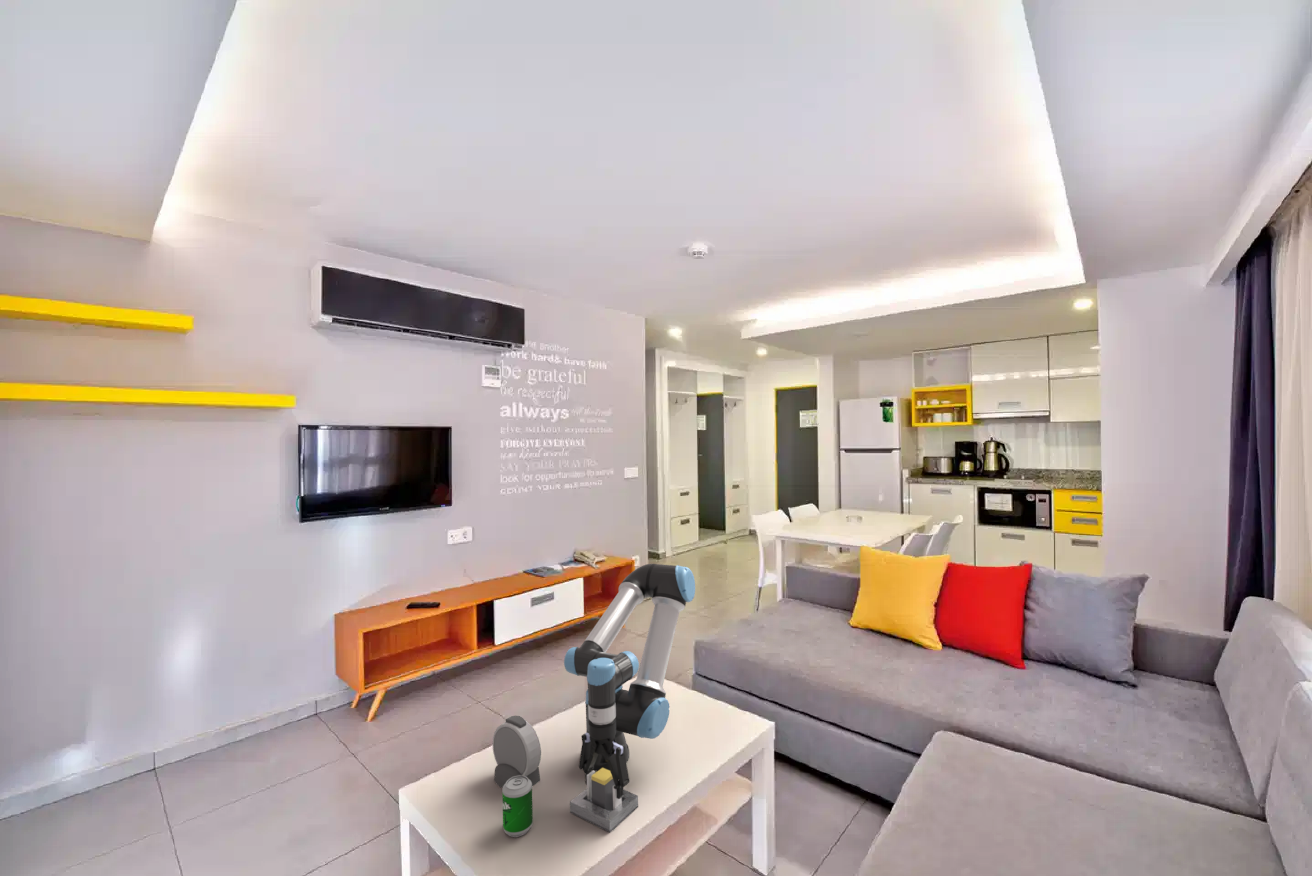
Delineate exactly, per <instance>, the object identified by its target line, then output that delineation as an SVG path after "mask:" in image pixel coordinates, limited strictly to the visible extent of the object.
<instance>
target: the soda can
mask: <svg viewBox="0 0 1312 876" xmlns="http://www.w3.org/2000/svg"><path fill="white" fill-rule="evenodd" d="M501 792H502V793H501V794H502V795H501V796H502V830H503V832H504V833H505V834H506V835H507V836H509V837H512V838H518V837H521V836H523V835H525V834H527V832H529V831H530V829H531V828H532V827H533V822H534V817H533V814H534V813H533V786H532V782H531V780H529V779H528V778H527V777H526V776H520V775H519V776H514V777H512V778H510V779H509V780H507V782H506V783H505V784H504V786H503V788H501Z"/></svg>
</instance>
